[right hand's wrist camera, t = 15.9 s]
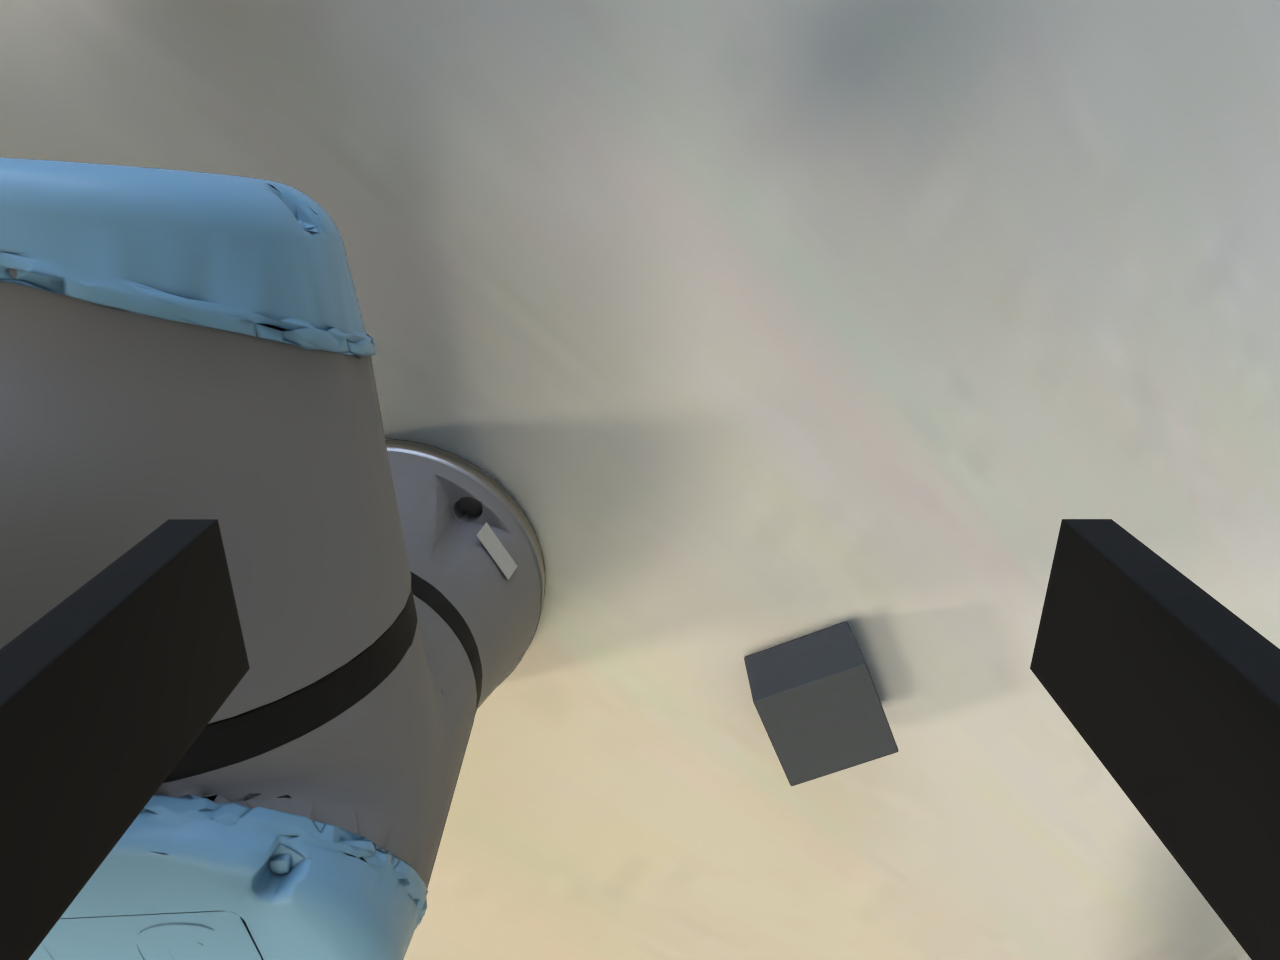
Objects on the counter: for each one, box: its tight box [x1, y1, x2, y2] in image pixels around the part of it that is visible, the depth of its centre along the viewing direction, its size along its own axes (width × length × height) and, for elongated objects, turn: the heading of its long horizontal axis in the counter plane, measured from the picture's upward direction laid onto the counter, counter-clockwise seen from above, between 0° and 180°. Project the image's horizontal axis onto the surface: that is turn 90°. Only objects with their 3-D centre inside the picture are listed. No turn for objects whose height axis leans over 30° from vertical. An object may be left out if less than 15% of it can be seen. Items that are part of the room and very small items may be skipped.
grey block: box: [744, 622, 898, 786], centre depth 44 cm, size 6×6×4 cm
